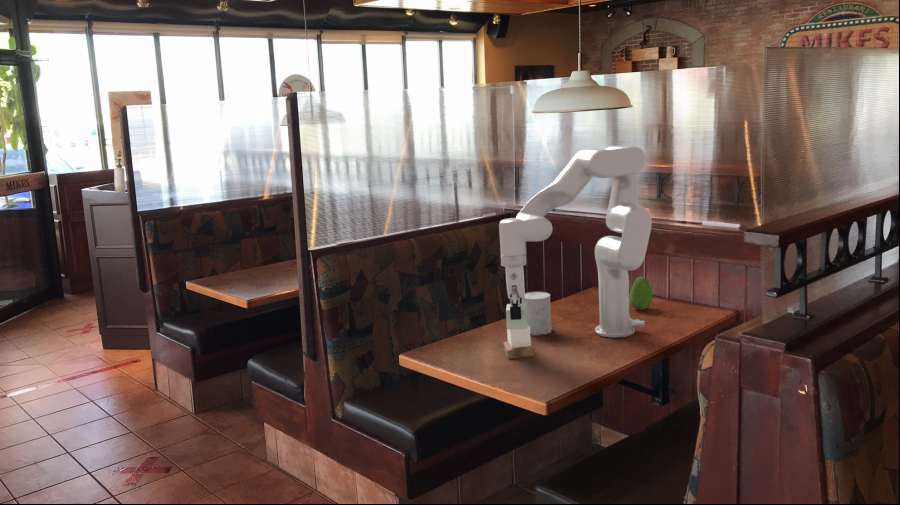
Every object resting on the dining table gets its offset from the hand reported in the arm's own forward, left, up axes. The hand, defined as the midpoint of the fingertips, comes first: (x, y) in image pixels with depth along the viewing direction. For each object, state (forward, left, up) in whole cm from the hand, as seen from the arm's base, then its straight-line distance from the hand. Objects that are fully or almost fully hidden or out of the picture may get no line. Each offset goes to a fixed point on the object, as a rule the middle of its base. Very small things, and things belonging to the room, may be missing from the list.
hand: (516, 314), depth 221 cm
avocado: (-43, -42, -12) cm, 61 cm away
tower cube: (0, 0, -9) cm, 9 cm away
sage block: (0, 0, -3) cm, 3 cm away
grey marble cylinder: (-6, -21, -12) cm, 25 cm away
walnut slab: (0, 0, -13) cm, 13 cm away
